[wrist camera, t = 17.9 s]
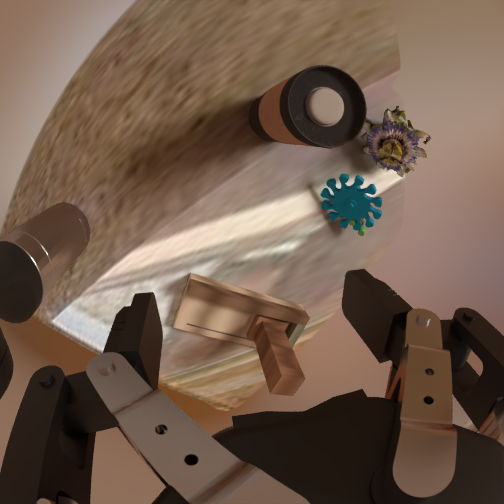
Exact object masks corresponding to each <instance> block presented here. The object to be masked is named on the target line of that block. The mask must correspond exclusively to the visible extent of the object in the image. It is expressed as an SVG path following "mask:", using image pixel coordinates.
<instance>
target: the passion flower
mask: <svg viewBox="0 0 504 504" xmlns="http://www.w3.org/2000/svg"><path fill="white" fill-rule="evenodd" d="M396 112H397V114H396ZM399 116H403V118H404V120H406V113H405V112H404V111H399V106H397V107H396V109H395V110H394V111H390V110H389V109H387V110H386V111H385V112H384V118H383V124H381V125H375V124H373V123H372V122H371V120H369V119H367V118H366V120H365V123H364V126H363V129H364V130H366V133H364V134H363V135H362V136H361V138H362V139H363V140H366V142H367V145H366V146H365V147H364V148H363V151H364V152H365V153H366V154H370V155H372V156H373V157H374V159H375V158H376V159H377V161H376V164H377V167H378V168H383V169H384V167H386V168H387V170H389V169H393V170H394V171H396V172H397V174H398V175H399V176H401V177H403V176H404V174H405V173H408V172H409V171H410V170H413V171H415V170H416V161H415V159H417V157H424V158H427V157H428V155H427V153H426V152H425V150H424V149H422V148H419V147H417V145H418V142H417V141H420V139H422V138H424V135H425V134H426V133H425V132H423V131H419V130H415V129H413V127H412V125H411V122H410V120H408V127H407V124H406V123H405V122H403V121H402V120H401V119H399ZM426 135H428V134H426ZM428 136H429V135H428ZM429 140H430V136H429V137H427V138H426V141H424V142H423V143H424V144H427V142H428V141H429ZM415 156H417V157H415ZM404 172H405V173H404Z"/></svg>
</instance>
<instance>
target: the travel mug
mask: <svg viewBox="0 0 504 504" xmlns="http://www.w3.org/2000/svg"><path fill="white" fill-rule="evenodd" d="M366 111H367V109H366V101H365V97H364V94H363V92H362V90H361V88H360V87H359V85H358V84H357V82H356V81H355V80H354V79H353V78H352V77H351V76H350V75H349V74H347V73H346V72H344V71H343V70H341V69H338V68H336V67H333V66H327V65H318V66H313V67H309V68H307V69H305V70H303V71H301V72H299V73H297V74H295V75H294V76H292V77H290V78H288V79H286V80H285V81H283V82H281V83H279V84H277V85H276V86H274V87H272V88H271V89H269V90H268V91H267V92H266V93H264V94H263V95H262V96H261V97H260V98H258V99H257V100H256V101H255V102H254V104H253V105H252V107H251V109H250V113H249V120H250V124H251V127H252V128H253V130H254V131H255V132H256V134H258V135H259V136H260V137H262V138H264V139H267V140H271V141H275V142H280V143H285V144H294V145H305V146H315V147H323V148H329V149H332V148H335V147H338V146H340V145H343V144H345V143H347V142H349V141H352V140H354V139H355V138H356V137H357V136H358V135H359V133H360V132H361V130H362V128H363V126H364V123H365V120H366Z"/></svg>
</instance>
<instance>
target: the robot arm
mask: <svg viewBox="0 0 504 504" xmlns="http://www.w3.org/2000/svg"><path fill="white" fill-rule="evenodd" d="M89 237H90V230H89V225H88V221H87V219H86V217H85V216H84V214H83V213H82V212H81V211H80V210H79V209H78V208H77V207H75V206H74V205H72V204H68V203H59V204H56V205H54V206H52V207H50V208H49V209H47V210H45V211H44V212H42V213H40V214H39V215H37V216H35V217H34V218H32V219H31V220H29V221H27V222H26V223H24V224H23V225H21V226H20V227H18V228H17V229H15V230H14V231H12V232H11V233H9V234H8V235H6V236H5V237H4V238H2V239H1V240H0V318H1V319H3V320H5V321H7V322H11V323H22V322H24V321H26V320H28V319H29V318H30V317H31V316H32V315H33V314H34V313H35V311H36V310H37V308H38V307H39V306H40V304H41V303H42V302H43V300H44V299H45V298H46V296H47V295H48V294H49V292H50V291H51V290H52V288H53V287H54V286H55V285H56V283H57V282H58V281H59V280H60V278H61V277H62V276H63V275H64V273H65V272H66V271H67V270H68V268H69V267H70V266H71V265H72V264H73V262H74V261H75V260H76V259H77V258H78V257H79V255H80V254H81V253H82V252H83V251H84V250H85V248H86V246H87V245H88V242H89ZM342 309H343V313H344V315H345V317H346V318H347V320H348V321H349V322H350V323H351V325H352V326H353V328H354V329H355V330H356V332H357V333H358V334H359V336H360V337H361V338H362V339H363V341H364V342H365V343H366V345H367V346H368V348H369V349H370V350H371V352H372V353H373V354H374V356H375V357H376V359H377V360H378V362H379V363H383V362H386V361H389V360H391V361H392V365H391V367H390V372H389V378H388V383H387V388H386V393H385V398H379V397H367V396H366V394H365V393H364V391H363V389H360V390H357V391H354V392H351V393H347V394H343V395H339V396H336V397H333V398H331V399H329V400H327V401H325V402H323V403H321V404H319V405H317V406H315V407H313V408H310V409H308V410H306V411H303V412H273V411H265V412H259V413H253V414H246V415H238V416H232V420H233V426H231V427H228V428H226V429H223V430H221V431H219V432H218V433H216V434H214V435H212V436H210V435H209V434H208V433H206V432H205V431H204V430H203V429H202V428H201V427H199V426H198V425H197V424H196V423H195V422H194V421H193V420H191V419H190V418H189V417H188V416H187V415H186V414H185V413H184V412H183V411H182V410H181V409H179V408H178V406H177V405H176V404H174V402H172V401H171V400H170V399H169V398H168V397H167V396H166V395H165V394H164V393H163V392H162V391H161V390H160V389H158V378H159V368H160V358H161V349H162V340H163V332H162V325H161V321H160V316H159V312H158V308H157V303H156V299H155V295H154V293H153V292H149V293H137V294H135V295H134V298H133V301H132V304H131V306H127V307H123V308H122V309H121V310H120V311H119V312H118V313H117V314H116V317H115V320H114V322H113V323H114V324H113V325H112V328H111V331H110V333H109V336H108V339H107V342H106V345H105V348H104V351H103V353H102V354H99V355H97V356H96V357H94V358H93V359H92V360H91V361H90V362H89V363H88V365H87V368H86V371H84V372H80V373H76V374H72V375H68V376H65V374H64V372H63V371H62V369H61V368H59V367H57V366H46V367H43V368H40V369H39V370H37V371H36V372H35V373H34V374H33V375H32V377H31V379H30V381H29V384H28V387H27V389H26V391H25V394H24V397H23V399H22V402H21V404H20V407H19V410H18V413H17V416H16V419H15V422H14V425H13V428H12V431H11V434H10V438H9V441H8V445H7V448H6V452H5V456H4V459H3V464H2V468H1V472H0V504H90V494H91V476H92V463H93V453H94V444H95V436H96V432H97V431H102V430H106V429H110V428H114V427H118V429H119V430H120V432H121V433H122V434H123V436H124V437H125V438H126V440H127V441H128V442H129V443H130V445H131V446H132V448H133V449H134V450H135V451H136V453H137V454H138V455H139V456H140V458H141V459H142V460H143V461H144V463H145V464H146V465H147V466H148V468H149V469H150V470H151V471H152V472H153V474H154V475H155V476H156V477H157V478H158V479H159V481H160V482H161V483H162V484H163V485H164V486H165V487H166V488H165V489H164V490H163V491H162V492H161V493H160V495H159V496H158V497H157V498H156V499H155V500H154V501H153V503H152V504H504V336H503V335H502V334H501V333H500V332H499V331H498V330H497V329H495V327H493V326H492V325H491V324H490V323H489V322H488V321H487V320H486V319H485V318H484V317H482V316H481V315H480V314H479V313H478V312H476V311H475V310H472V309H469V308H459V309H457V310H456V311H455V313H454V316H453V319H452V320H440V319H439V317H438V316H437V315H436V314H435V313H433V312H431V311H429V310H426V309H413V308H412V307H411V306H410V305H409V304H408V303H407V302H405V301H404V300H403V299H402V298H401V297H400V296H399V295H397V293H396V292H394V290H392V289H391V288H390V287H389V286H388V285H387V284H386V283H384V282H382V281H380V280H378V279H376V278H374V277H373V276H372V275H371V274H369V273H368V272H367V271H366V270H365V269H359V270H351V271H348V272H347V273H346V275H345V282H344V290H343V298H342ZM471 350H473V352H474V353H475V354H476V355H477V356H478V357H479V358H480V360H481V361H482V363H483V372H482V374H481V376H479V375H478V374H477V373H476V371H475V370H474V369H473V368H472V367H471V366H470V364H469V363H468V362H467V359H468V356H469V354H470V352H471ZM12 374H13V359H12V356H11V353H10V350H9V347H8V345H7V342H6V340H5V338H4V335H3V333H2V330H1V328H0V399H1V398H2V396H3V395H4V393H5V391H6V390H7V388H8V386H9V383H10V381H11V378H12ZM452 394H453V395H454V397H455V398H456V399H457V401H458V402H459V404H460V405H461V406H462V408H463V409H464V411H465V412H466V413H467V415H468V416H469V418H470V419H471V421H472V422H473V424H474V425H475V426H476V428H477V429H478V431H479V433H477V432H474V431H471V430H469V429H466V428H463V427H460V426H458V425H455V424H453V423H452V418H453V416H452V413H453V400H452V399H453V397H452Z"/></svg>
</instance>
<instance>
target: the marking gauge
mask: <svg viewBox="0 0 504 504" xmlns="http://www.w3.org/2000/svg"><path fill="white" fill-rule="evenodd" d="M287 326H288V321H283V320H279V319H275V318H271V317H267V316H263V315H259V314H256V316H255V318H254V320H253V322H252V324H251V326H250V328H249V330H248V332H247V334H246V336H247V340H249V341H254V342H255V344H256V348H257V351H258V354H259V358H260V361H261V365H262V368H263V372H264V375H265V378H266V382H267V385H268V388H269V392H270V394H277V395H278V394H279V395H287V396H293V395H294V394H295V393H296V391H297V390H298V389H299V387H300V386H301V384H302V383H303V382H304V380H305V377H304V374H303V372H302V370H301V368H300V365H299V363H298V361H297V358H296V356H295V354H294V351H293V349H292V347H291V345H290V342H289V340H288V338H287V335H286V333H285V329H286V328H287Z"/></svg>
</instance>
